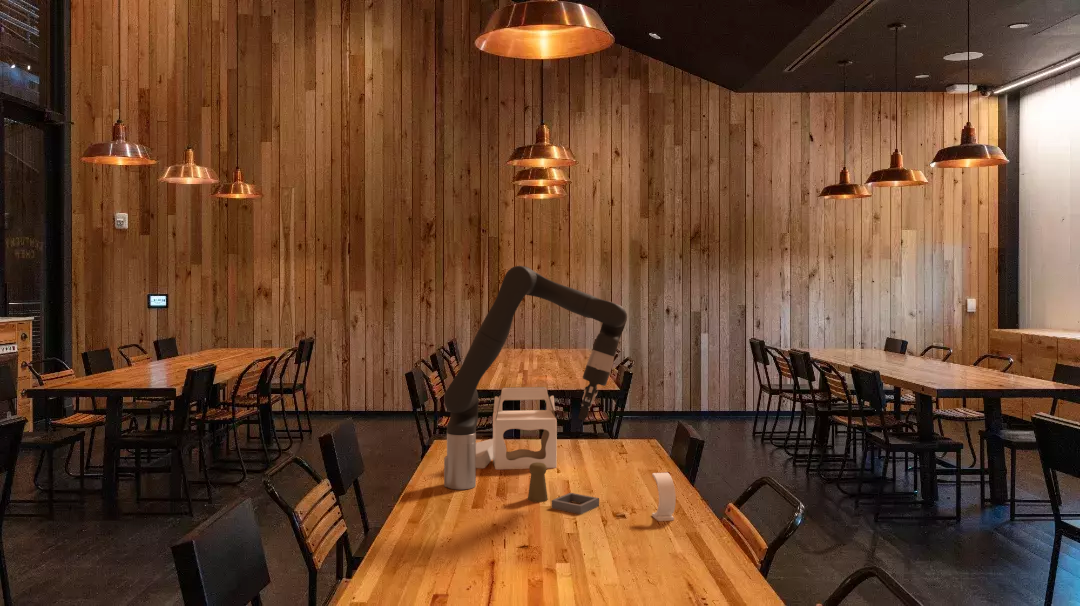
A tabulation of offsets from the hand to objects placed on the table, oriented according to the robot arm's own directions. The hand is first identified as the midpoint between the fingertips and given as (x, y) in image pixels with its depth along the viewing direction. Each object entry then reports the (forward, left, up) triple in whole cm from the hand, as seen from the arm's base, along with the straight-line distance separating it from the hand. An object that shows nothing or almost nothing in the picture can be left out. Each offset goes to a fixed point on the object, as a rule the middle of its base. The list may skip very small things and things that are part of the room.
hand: (582, 418), depth 224 cm
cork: (-12, -6, -24) cm, 28 cm away
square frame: (+1, -10, -24) cm, 26 cm away
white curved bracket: (+27, -11, -24) cm, 38 cm away
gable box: (-32, +34, -24) cm, 53 cm away
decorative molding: (-52, +39, -25) cm, 69 cm away
